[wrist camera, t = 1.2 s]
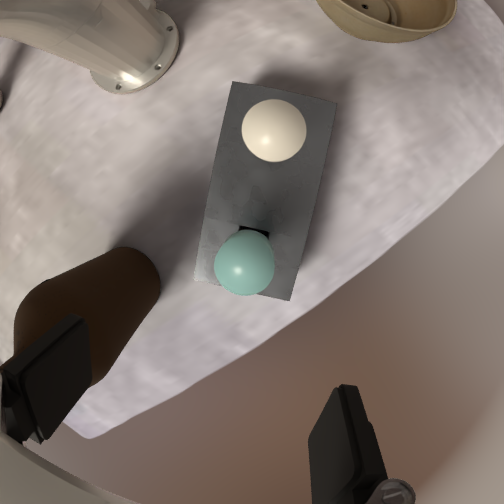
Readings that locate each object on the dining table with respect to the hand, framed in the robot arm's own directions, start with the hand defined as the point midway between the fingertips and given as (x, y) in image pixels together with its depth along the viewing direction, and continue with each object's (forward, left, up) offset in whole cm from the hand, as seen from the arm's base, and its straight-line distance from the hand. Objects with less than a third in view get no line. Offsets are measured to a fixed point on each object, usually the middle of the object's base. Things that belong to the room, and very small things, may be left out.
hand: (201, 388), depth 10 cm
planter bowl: (-31, +7, -27) cm, 42 cm away
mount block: (-5, 0, -26) cm, 27 cm away
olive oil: (+10, -15, -27) cm, 32 cm away
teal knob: (0, 0, -22) cm, 22 cm away
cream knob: (-10, 0, -22) cm, 25 cm away
